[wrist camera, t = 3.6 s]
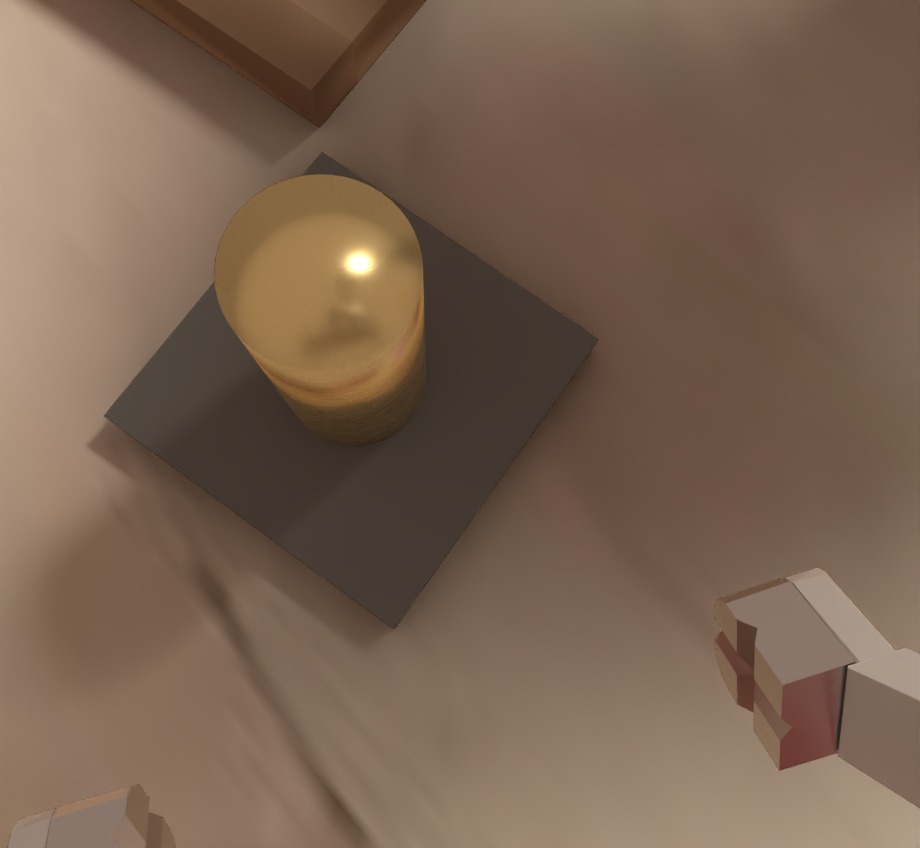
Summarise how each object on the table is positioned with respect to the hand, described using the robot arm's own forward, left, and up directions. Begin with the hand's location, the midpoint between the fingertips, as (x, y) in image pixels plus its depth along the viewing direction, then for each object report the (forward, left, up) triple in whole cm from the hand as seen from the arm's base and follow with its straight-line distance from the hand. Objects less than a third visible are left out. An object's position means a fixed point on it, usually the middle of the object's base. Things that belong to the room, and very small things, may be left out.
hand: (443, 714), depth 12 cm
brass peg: (-5, -6, -11) cm, 14 cm away
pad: (-5, -6, -12) cm, 15 cm away
